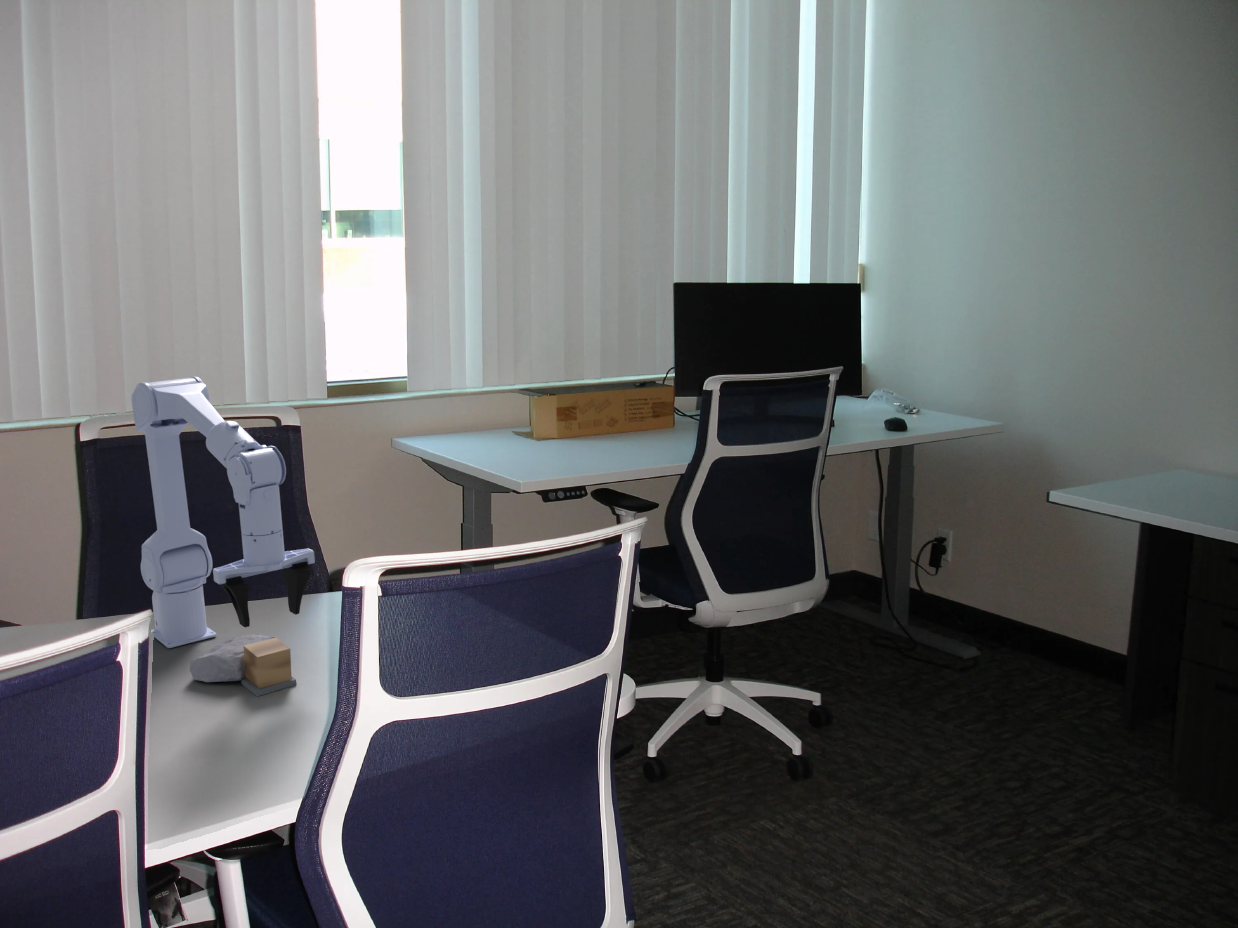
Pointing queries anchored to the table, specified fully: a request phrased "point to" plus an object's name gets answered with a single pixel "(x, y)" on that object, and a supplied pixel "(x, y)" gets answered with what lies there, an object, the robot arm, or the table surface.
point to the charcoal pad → (268, 689)
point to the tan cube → (267, 662)
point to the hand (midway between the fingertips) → (269, 618)
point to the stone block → (224, 660)
